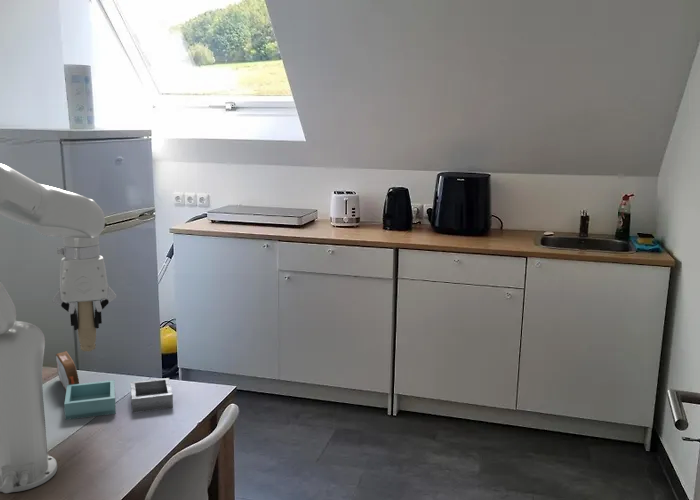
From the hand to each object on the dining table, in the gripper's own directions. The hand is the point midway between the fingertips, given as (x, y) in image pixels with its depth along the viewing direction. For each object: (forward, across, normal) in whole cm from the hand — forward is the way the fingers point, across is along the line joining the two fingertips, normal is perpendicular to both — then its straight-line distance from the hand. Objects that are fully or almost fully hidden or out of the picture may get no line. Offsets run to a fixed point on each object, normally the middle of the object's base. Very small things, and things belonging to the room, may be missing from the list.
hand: (86, 326), depth 153 cm
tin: (+21, -6, +14) cm, 26 cm away
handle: (+6, 0, 0) cm, 6 cm away
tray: (+20, 0, 0) cm, 20 cm away
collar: (+20, +14, -1) cm, 25 cm away
